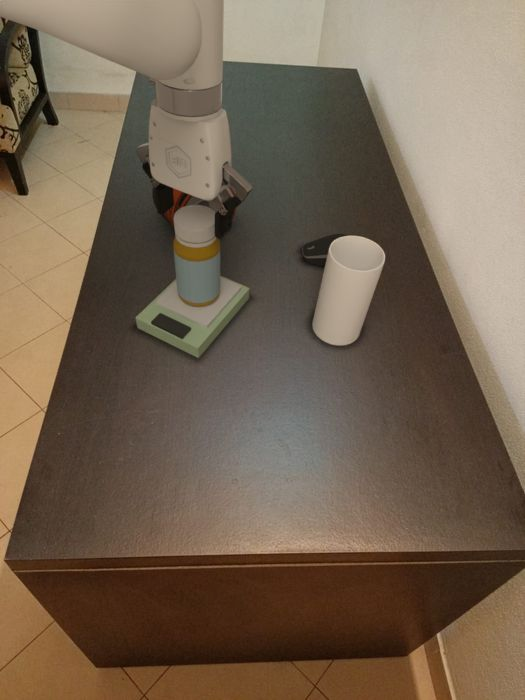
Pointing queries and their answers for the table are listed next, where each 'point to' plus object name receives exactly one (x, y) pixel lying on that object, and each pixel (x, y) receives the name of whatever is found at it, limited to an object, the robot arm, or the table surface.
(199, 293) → the bottle
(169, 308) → the scale
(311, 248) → the computer mouse
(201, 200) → the oil filter
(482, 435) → the table surface
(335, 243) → the cup
